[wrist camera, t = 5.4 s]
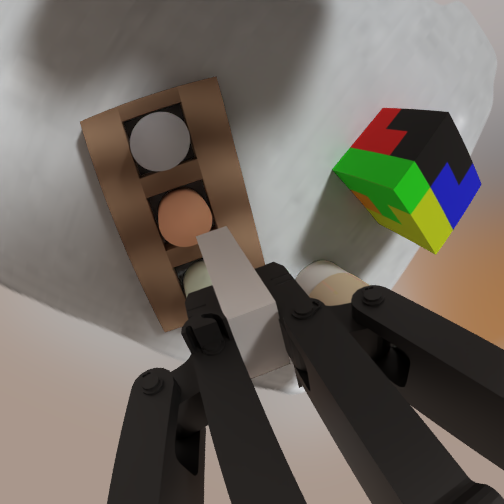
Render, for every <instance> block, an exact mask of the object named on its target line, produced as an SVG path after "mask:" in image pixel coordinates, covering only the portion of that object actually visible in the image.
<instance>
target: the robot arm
mask: <svg viewBox="0 0 504 504" xmlns="http://www.w3.org/2000/svg"><path fill="white" fill-rule="evenodd" d="M196 239H197V242H198V245H199V248H200V251H201V254H202V256H203V259H204V262H205V265H206V268H207V271H208V273H209V276H210V279H211V282H212V285H211V286H208V287H205V288H202V289H200V290H197V291H194V292H191V293H188V296H187V298H186V301H185V307H186V311H187V317H188V320H187V321H186V322H185V324H184V325H183V327H182V332H181V334H182V336H183V338H184V340H185V342H186V344H187V346H188V348H189V350H190V352H191V356H190V357H189V359H188V360H187V361H186V362H185V363H184V364H183V365H181V366H180V367H178V368H177V369H175V370H173V371H172V372H170V371H169V370H166V369H164V368H153V369H150V370H147V371H146V372H144V373H142V374H141V375H140V376H139V377H138V378H137V379H136V380H135V382H134V384H133V386H132V389H131V393H130V397H129V401H128V405H127V409H126V413H125V417H124V422H123V426H122V430H121V435H120V439H119V444H118V449H117V453H116V458H115V463H114V468H113V473H112V479H111V484H110V490H109V495H108V501H107V504H204V469H205V468H204V467H205V436H206V428H205V426H207V425H209V429H210V432H211V436H212V440H213V443H214V447H215V451H216V454H217V458H218V461H219V465H220V468H221V471H222V474H223V478H224V481H225V484H226V488H227V491H228V494H229V497H230V500H231V503H232V504H307V503H306V501H305V499H304V497H303V495H302V493H301V491H300V489H299V486H298V484H297V482H296V480H295V478H294V476H293V474H292V472H291V470H290V467H289V465H288V463H287V461H286V459H285V457H284V454H283V452H282V450H281V448H280V446H279V443H278V441H277V439H276V437H275V434H274V432H273V430H272V427H271V425H270V423H269V421H268V419H267V416H266V414H265V411H264V409H263V407H262V405H261V402H260V400H259V398H258V395H257V393H256V391H255V388H254V386H253V383H252V381H251V379H252V378H255V377H257V376H260V375H262V374H265V373H268V372H270V371H273V370H275V369H278V368H280V367H283V366H285V365H288V364H290V359H289V357H290V358H291V360H292V362H293V364H294V368H295V372H296V376H297V381H298V385H299V388H300V387H302V385H303V387H304V389H305V391H306V392H307V394H308V396H309V398H310V399H311V401H312V403H313V405H314V406H315V408H316V410H317V412H318V413H319V415H320V417H321V419H322V420H323V422H324V424H325V425H326V427H327V429H328V431H329V432H330V434H331V436H332V437H333V439H334V441H335V443H336V444H337V446H338V448H339V449H340V451H341V453H342V454H343V456H344V458H345V459H346V461H347V463H348V465H349V466H350V468H351V469H352V471H353V473H354V475H355V476H356V478H357V480H358V481H359V483H360V485H361V486H362V488H363V489H364V491H365V493H366V495H367V496H368V498H369V500H370V501H371V503H372V504H504V499H503V498H502V497H501V495H500V494H499V493H498V492H497V491H496V490H495V489H493V488H492V487H490V486H488V485H486V484H479V483H475V482H473V481H472V480H471V479H470V478H469V477H468V476H467V475H466V474H465V472H464V471H463V470H462V469H461V467H460V466H459V465H458V463H457V462H456V461H455V460H454V458H453V457H452V456H451V455H450V453H449V452H448V451H447V450H446V449H445V447H444V446H443V445H442V444H441V442H440V441H439V440H438V439H437V437H436V436H435V435H434V434H433V432H432V431H431V430H430V429H429V427H428V426H427V425H426V424H425V423H424V421H423V420H422V419H421V418H420V416H419V415H418V414H417V413H416V412H415V411H414V409H413V408H412V407H414V408H415V409H417V410H418V411H419V412H421V413H422V414H423V415H425V416H426V417H428V418H429V419H431V420H432V421H433V422H435V423H436V424H437V425H439V426H440V427H442V428H443V429H445V430H446V431H447V432H449V433H450V434H452V435H453V436H455V437H456V438H457V439H459V440H460V441H462V442H463V443H465V444H466V445H467V446H469V447H470V448H472V449H474V450H475V451H477V452H478V453H479V454H481V455H482V456H483V457H485V458H487V459H488V460H489V461H491V462H492V463H494V464H495V465H497V466H498V467H500V468H501V469H503V470H504V350H503V349H501V348H499V347H498V346H496V345H494V344H492V343H490V342H489V341H487V340H485V339H483V338H481V337H479V336H478V335H476V334H474V333H472V332H470V331H468V330H466V329H464V328H462V327H460V326H459V325H457V324H455V323H453V322H451V321H449V320H447V319H445V318H444V317H442V316H440V315H438V314H436V313H434V312H432V311H430V310H428V309H426V308H424V307H423V306H421V305H419V304H416V303H415V302H413V301H411V300H409V299H407V298H405V297H403V296H401V295H399V294H397V293H395V292H393V291H391V290H390V289H388V288H385V287H382V286H377V285H370V286H365V287H362V288H360V289H358V290H357V291H356V292H355V293H354V294H353V295H352V299H351V303H346V304H341V305H334V306H327V305H325V304H324V303H323V302H321V301H320V300H318V299H315V298H310V297H309V296H308V295H307V293H306V292H305V291H304V290H303V289H302V287H301V286H300V285H299V284H298V283H297V281H296V280H295V279H294V278H293V277H292V276H291V274H289V272H288V271H287V270H286V268H285V267H284V266H283V265H280V264H278V263H275V262H272V263H269V264H266V265H264V266H261V267H258V268H255V269H254V268H253V266H252V265H251V263H250V262H249V260H248V259H247V257H246V255H245V254H244V252H243V251H242V249H241V248H240V246H239V245H238V243H237V242H236V240H235V238H234V237H233V235H232V234H231V232H230V231H229V229H228V228H227V226H225V227H222V228H219V229H216V230H213V231H210V232H207V233H204V234H201V235H198V236H196ZM410 405H411V406H412V407H411V406H410Z"/></svg>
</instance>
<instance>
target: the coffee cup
mask: <svg viewBox="0 0 504 504" xmlns="http://www.w3.org/2000/svg"><path fill="white" fill-rule="evenodd" d="M295 280H296V281H297V283H298V284H299V285H300V286H301V287H302V289H303V290H304V291H305V292H306V293H307V295H308V296H309V297H310V298H315V299H318V300H320V301H321V302H323V303H324V304H325V305H327V306H334V305H341V304H346V303H351V299H352V295H353V294H354V293H355V292H356V291H357V290H358V289H360V288H362V287H365V286H370V285H368V284H367V283H365V282H364V281H362V280H361V279H359V278H358V277H356V276H354V275H353V274H350V273H348V272H346V271H345V270H343V269H342V268H340V267H339V266H337V265H335V264H334V263H332V262H330V261H325V260H322V261H317V262H314V263H311V264H310V265H308V266H307V267H305V268H304V269H303V270H302V271H301V272H300V273H299V274H298V276H297V277H296V279H295Z"/></svg>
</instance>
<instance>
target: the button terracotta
mask: <svg viewBox="0 0 504 504" xmlns="http://www.w3.org/2000/svg"><path fill="white" fill-rule="evenodd" d="M158 222H159V229H160V232H161V234H162V235H163V237H164V238H165V239H166V240H167V241H168V242H169V243H171V244H173V245H175V246H179V247H189V246H193V245H196V244H198V242H197V239H196V236H198V235H201V234H204V233H207V232H209V231H210V229H211V226H212V215H211V211H210V209H209V207H208V205H207V204H206V202H205V201H204V199H203V198H202V197H201V195H200V194H199V193H198V192H196V191H195V190H193V189H191V188H186V187H179V188H175V189H172V190H171V191H169V192H168V193H166V194H165V195H164V196H163V198H162V199H161V201H160V203H159V207H158Z"/></svg>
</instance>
